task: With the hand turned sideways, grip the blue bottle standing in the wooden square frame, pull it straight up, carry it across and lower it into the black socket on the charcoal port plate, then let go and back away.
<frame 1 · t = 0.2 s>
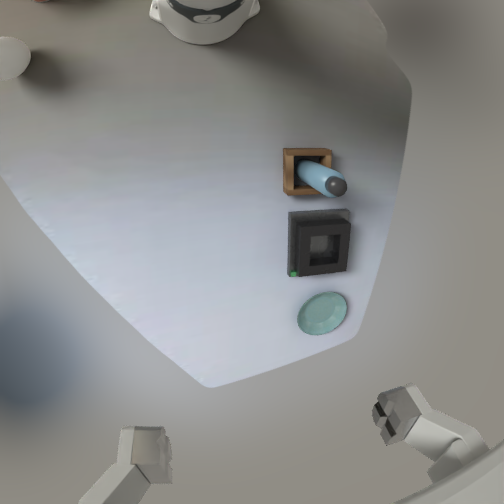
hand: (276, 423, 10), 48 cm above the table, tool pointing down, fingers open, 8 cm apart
saucer: (319, 308, 69), on the table
port: (316, 241, 61), on the table
sauce bottle: (23, 62, 36), on the table
wooden square frame: (304, 169, 55), on the table
blue bottle: (319, 177, 48), in the wooden square frame
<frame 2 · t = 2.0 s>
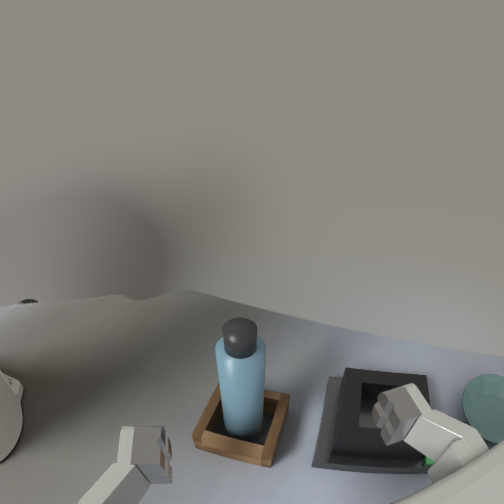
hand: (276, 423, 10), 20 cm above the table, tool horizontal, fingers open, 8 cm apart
saucer: (490, 417, 26), on the table
port: (375, 428, 28), on the table
wooden square frame: (243, 429, 30), on the table
blue bottle: (242, 389, 26), in the wooden square frame
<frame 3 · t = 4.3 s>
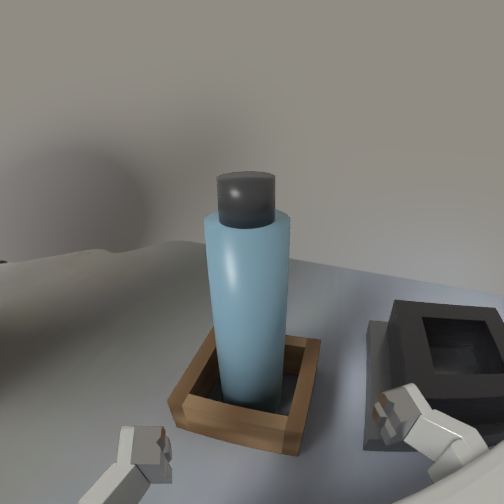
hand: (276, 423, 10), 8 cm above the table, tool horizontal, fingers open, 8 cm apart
port: (442, 386, 19), on the table
wooden square frame: (252, 398, 20), on the table
blue bottle: (249, 315, 17), in the wooden square frame
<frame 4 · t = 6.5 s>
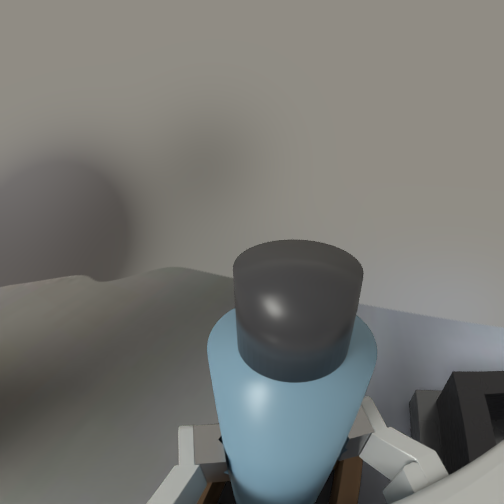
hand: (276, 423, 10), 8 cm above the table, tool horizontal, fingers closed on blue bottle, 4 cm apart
port: (492, 464, 11), on the table
blue bottle: (281, 449, 9), in the wooden square frame, touching gripper
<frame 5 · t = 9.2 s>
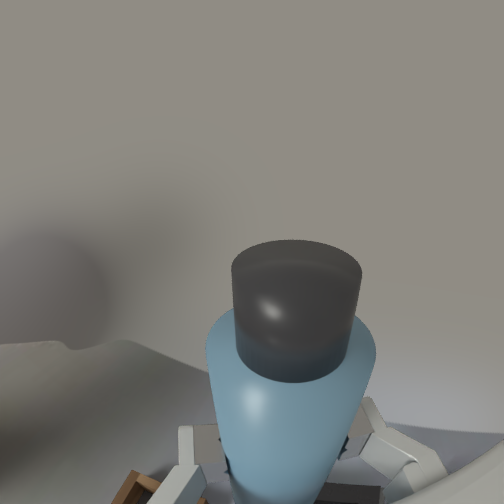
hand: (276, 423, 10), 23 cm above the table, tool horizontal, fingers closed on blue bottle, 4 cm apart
blue bottle: (280, 450, 9), point 22 cm above the table, touching gripper
when the fingers open (10 cm above the table, at t = 12.1 s): blue bottle stays where it is, resting on port.
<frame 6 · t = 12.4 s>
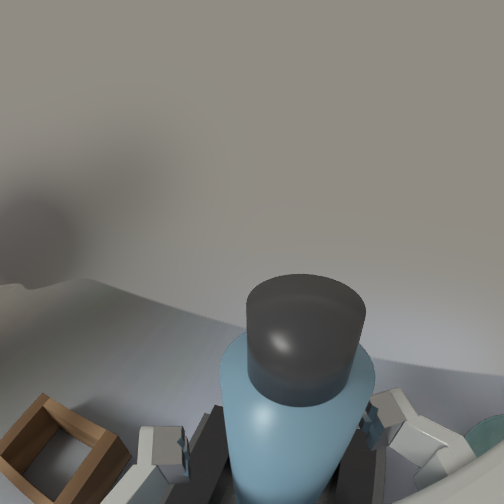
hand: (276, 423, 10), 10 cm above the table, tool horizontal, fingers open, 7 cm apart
saucer: (497, 488, 11), on the table
wooden square frame: (65, 469, 15), on the table
blue bottle: (283, 459, 10), in the port, point 9 cm above the table
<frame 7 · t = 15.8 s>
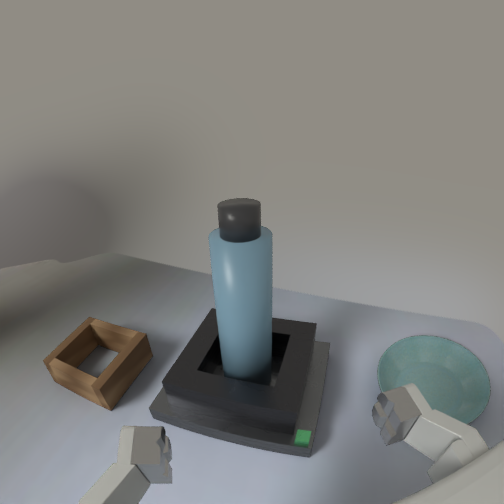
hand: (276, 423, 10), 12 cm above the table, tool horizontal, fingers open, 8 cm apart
saucer: (428, 393, 23), on the table
port: (248, 387, 26), on the table
wooden square frame: (102, 369, 27), on the table
blue bottle: (243, 306, 22), in the port, point 9 cm above the table
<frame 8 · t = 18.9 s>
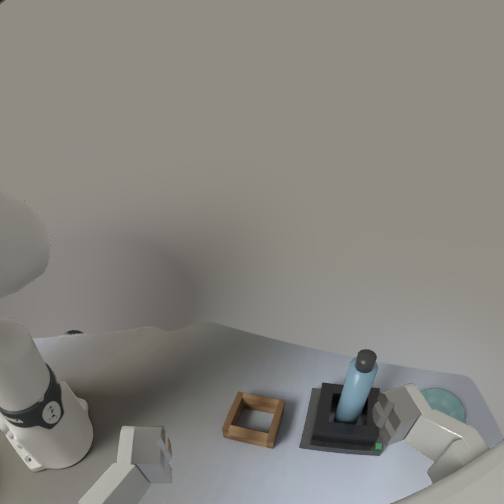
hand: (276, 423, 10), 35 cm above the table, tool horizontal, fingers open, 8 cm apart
saucer: (433, 420, 42), on the table
port: (343, 423, 44), on the table
wooden square frame: (254, 424, 45), on the table
blue bottle: (355, 391, 40), in the port, point 9 cm above the table
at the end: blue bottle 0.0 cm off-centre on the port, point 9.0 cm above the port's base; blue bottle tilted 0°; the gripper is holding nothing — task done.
